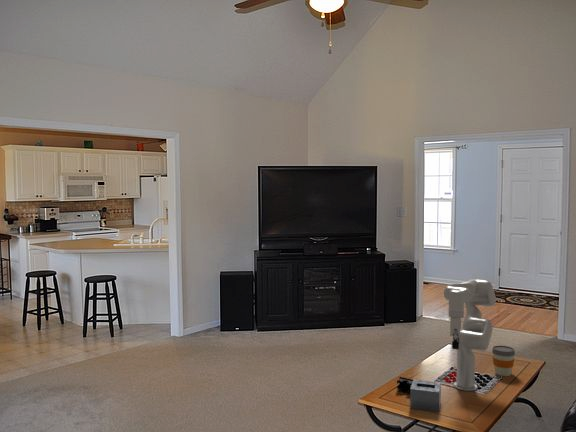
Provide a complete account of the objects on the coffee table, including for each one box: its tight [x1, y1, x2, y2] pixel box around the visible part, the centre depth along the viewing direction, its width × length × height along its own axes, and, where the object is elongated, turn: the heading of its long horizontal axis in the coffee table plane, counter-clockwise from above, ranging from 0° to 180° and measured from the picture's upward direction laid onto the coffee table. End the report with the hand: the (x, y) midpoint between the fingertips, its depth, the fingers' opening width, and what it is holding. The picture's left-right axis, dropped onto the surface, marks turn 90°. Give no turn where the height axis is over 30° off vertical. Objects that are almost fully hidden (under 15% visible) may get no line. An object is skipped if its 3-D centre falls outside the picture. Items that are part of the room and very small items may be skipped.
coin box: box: [409, 378, 442, 413], centre depth 271 cm, size 14×14×10 cm
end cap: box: [396, 376, 413, 395], centre depth 290 cm, size 10×7×7 cm
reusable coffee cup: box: [491, 345, 516, 377], centre depth 317 cm, size 12×13×15 cm
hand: (455, 346), depth 277 cm, fingers open, 9 cm apart
